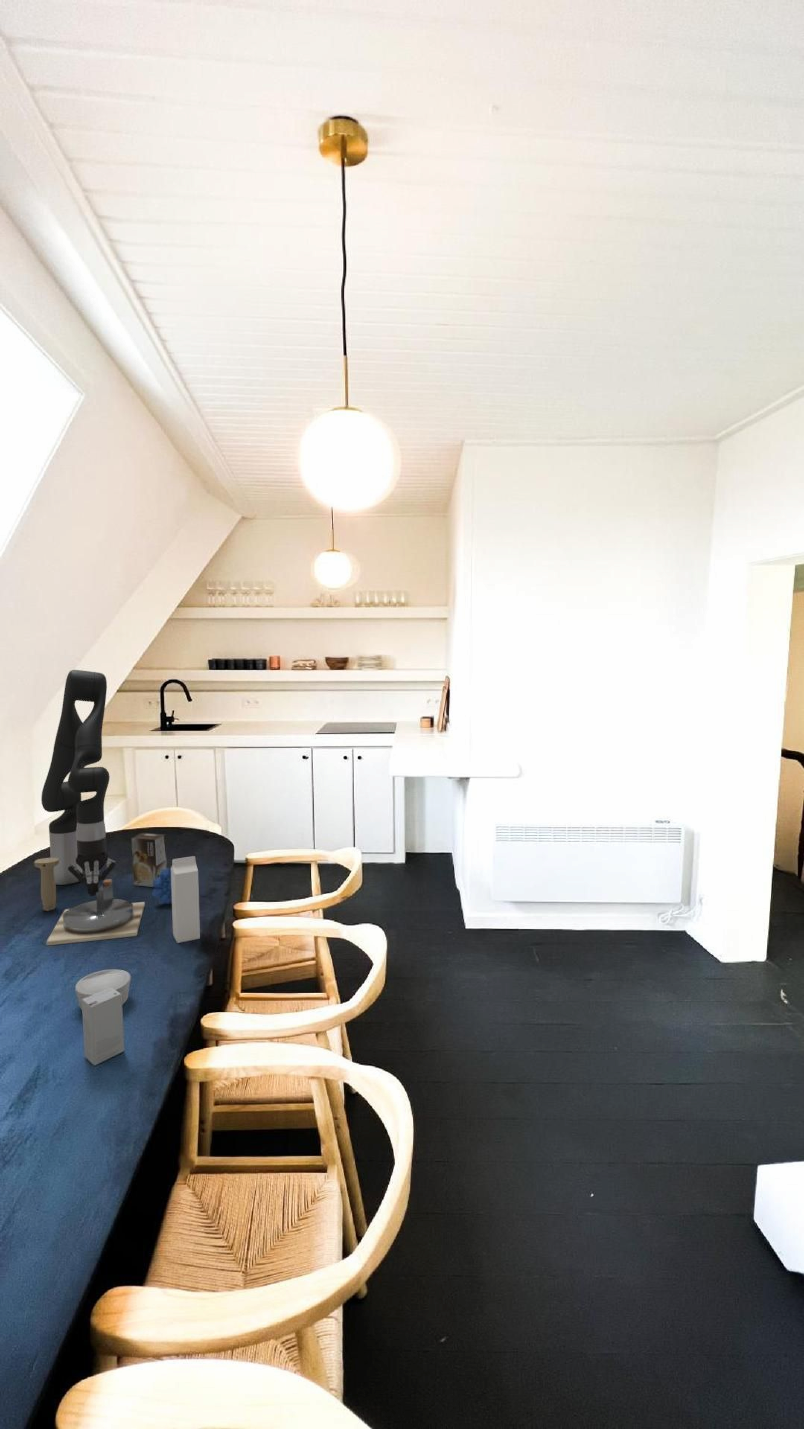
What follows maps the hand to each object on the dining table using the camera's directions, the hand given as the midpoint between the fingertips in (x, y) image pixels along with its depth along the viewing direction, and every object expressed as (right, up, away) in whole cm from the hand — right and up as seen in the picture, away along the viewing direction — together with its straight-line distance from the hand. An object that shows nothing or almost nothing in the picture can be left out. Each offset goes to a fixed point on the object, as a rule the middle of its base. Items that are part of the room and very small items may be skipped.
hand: (93, 894), depth 189 cm
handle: (-16, -6, +6) cm, 18 cm away
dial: (+4, -6, -4) cm, 8 cm away
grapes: (+19, -6, +12) cm, 23 cm away
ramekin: (+24, -12, -45) cm, 52 cm away
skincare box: (+32, -14, -63) cm, 72 cm away
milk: (+31, -8, -12) cm, 34 cm away
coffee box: (+6, -4, +28) cm, 29 cm away
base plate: (+4, -7, -4) cm, 9 cm away
